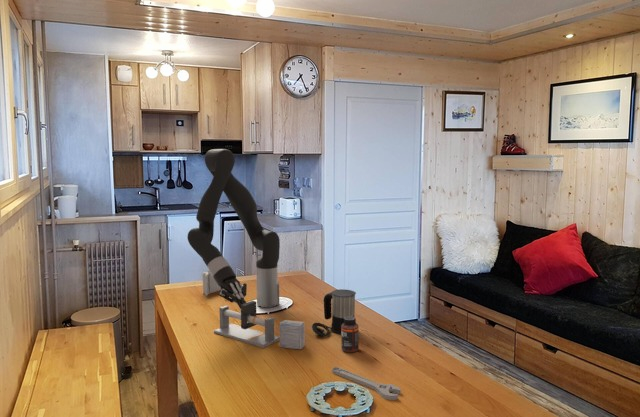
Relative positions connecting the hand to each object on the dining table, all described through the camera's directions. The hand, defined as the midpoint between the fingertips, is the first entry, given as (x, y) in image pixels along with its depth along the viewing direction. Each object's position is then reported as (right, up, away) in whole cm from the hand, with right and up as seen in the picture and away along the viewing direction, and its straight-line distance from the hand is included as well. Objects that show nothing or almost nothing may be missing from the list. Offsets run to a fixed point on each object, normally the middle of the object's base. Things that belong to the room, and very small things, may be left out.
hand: (245, 308), depth 187 cm
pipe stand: (0, -10, +1) cm, 10 cm away
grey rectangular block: (-25, -4, +59) cm, 64 cm away
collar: (+1, -6, 0) cm, 7 cm away
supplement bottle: (+38, -12, -12) cm, 41 cm away
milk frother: (+33, -10, +5) cm, 35 cm away
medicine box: (+18, -12, -8) cm, 23 cm away
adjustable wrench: (+41, -15, -36) cm, 57 cm away
